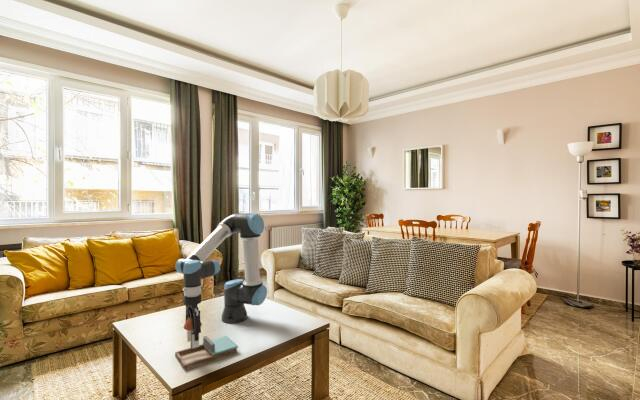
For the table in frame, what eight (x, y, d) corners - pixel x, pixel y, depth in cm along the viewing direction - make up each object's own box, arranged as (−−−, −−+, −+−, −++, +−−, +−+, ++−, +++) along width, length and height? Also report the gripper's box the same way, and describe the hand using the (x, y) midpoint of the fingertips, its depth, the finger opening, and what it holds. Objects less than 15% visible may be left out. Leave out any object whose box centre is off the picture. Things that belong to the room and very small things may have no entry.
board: (175, 356, 153) (175, 352, 152) (224, 342, 167) (224, 337, 167) (184, 370, 141) (184, 365, 141) (236, 353, 156) (236, 348, 156)
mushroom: (186, 343, 154) (186, 312, 153) (204, 343, 154) (203, 311, 154) (181, 351, 146) (180, 318, 146) (199, 351, 147) (199, 318, 146)
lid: (202, 344, 160) (202, 335, 160) (226, 337, 168) (226, 329, 167) (212, 355, 149) (212, 346, 149) (238, 347, 157) (237, 338, 156)
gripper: (177, 291, 155) (178, 338, 156) (191, 302, 139) (191, 355, 140) (194, 288, 160) (194, 334, 160) (208, 298, 144) (208, 349, 145)
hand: (193, 343), depth 150 cm, fingers closed on mushroom, 7 cm apart
